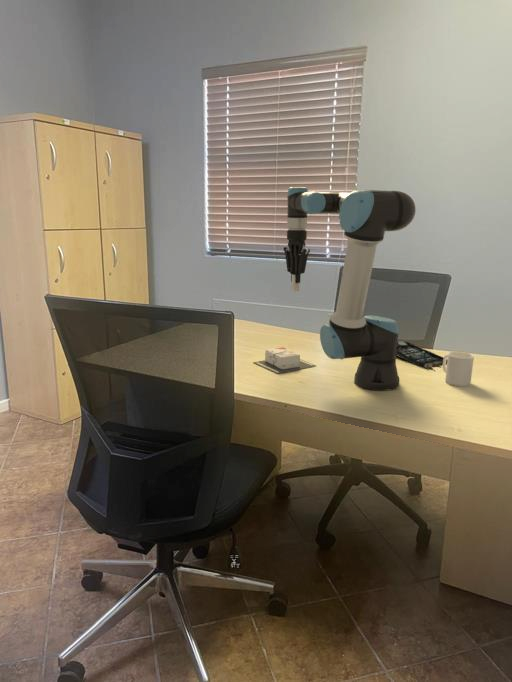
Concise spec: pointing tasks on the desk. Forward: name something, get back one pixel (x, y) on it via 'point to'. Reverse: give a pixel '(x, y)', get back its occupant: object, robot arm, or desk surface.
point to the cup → (458, 368)
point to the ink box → (282, 358)
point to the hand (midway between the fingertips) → (295, 291)
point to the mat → (278, 371)
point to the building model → (418, 355)
